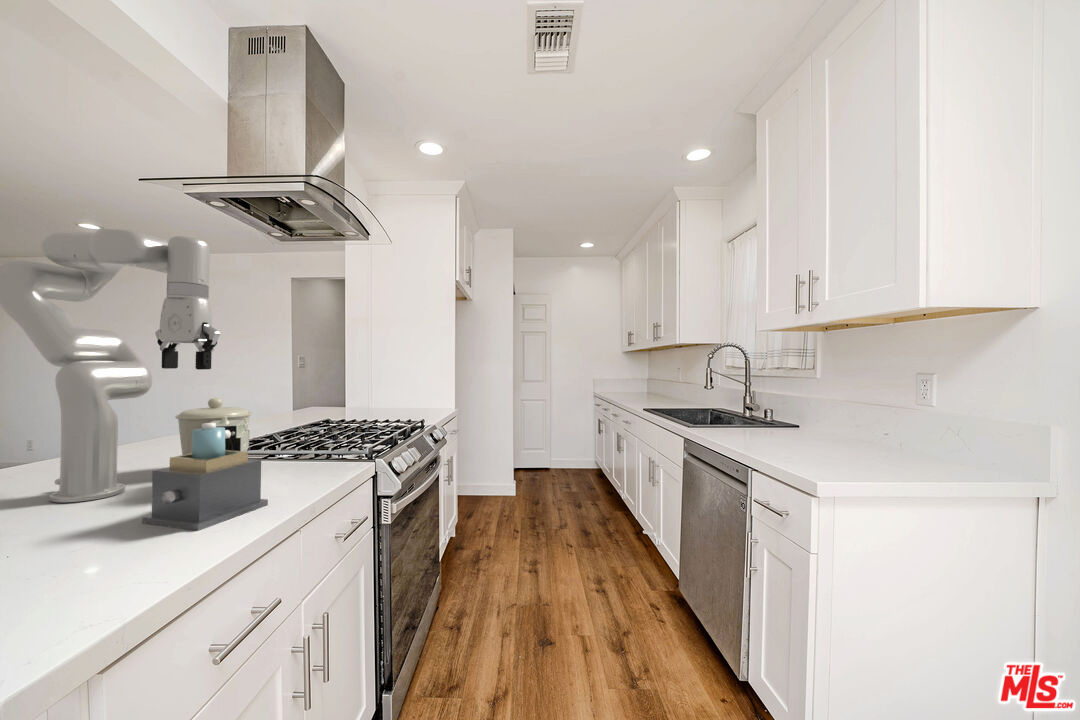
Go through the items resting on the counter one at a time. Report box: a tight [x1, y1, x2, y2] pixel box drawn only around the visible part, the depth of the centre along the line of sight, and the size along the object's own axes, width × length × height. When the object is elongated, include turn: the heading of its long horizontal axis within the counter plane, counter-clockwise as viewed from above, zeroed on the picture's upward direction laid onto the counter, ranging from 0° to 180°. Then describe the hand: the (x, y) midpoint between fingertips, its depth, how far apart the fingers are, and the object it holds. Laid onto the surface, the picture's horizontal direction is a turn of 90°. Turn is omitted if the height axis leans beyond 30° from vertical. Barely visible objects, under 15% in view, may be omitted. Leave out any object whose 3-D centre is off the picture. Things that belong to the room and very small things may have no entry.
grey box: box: [141, 450, 269, 531], centre depth 95 cm, size 14×17×12 cm
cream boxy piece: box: [201, 416, 250, 452], centre depth 116 cm, size 18×8×18 cm, turn 25°
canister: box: [175, 397, 253, 455], centre depth 131 cm, size 18×18×21 cm
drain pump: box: [192, 423, 231, 459], centre depth 96 cm, size 6×7×9 cm
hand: (186, 368), depth 102 cm, fingers open, 9 cm apart
